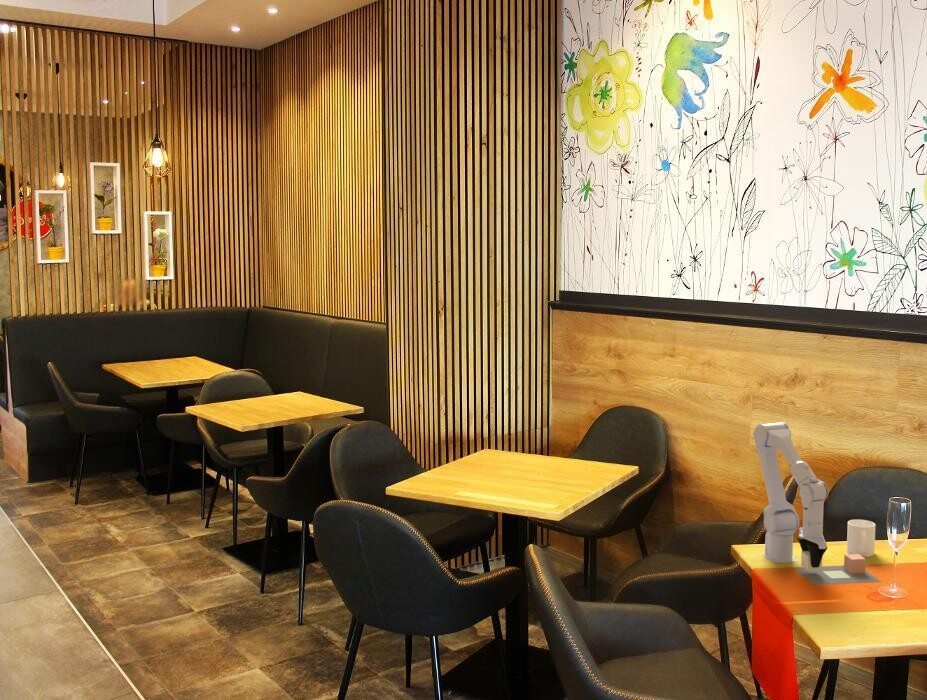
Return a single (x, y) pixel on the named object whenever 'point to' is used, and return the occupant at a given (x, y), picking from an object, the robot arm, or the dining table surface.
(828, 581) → the mat
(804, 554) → the cream block
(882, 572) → the dining table surface
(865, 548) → the mug
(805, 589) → the dining table surface
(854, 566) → the terracotta block
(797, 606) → the dining table surface
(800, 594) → the dining table surface
